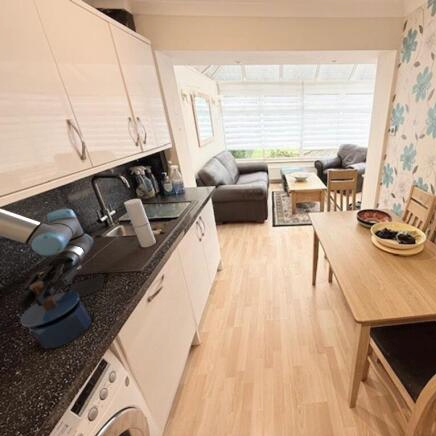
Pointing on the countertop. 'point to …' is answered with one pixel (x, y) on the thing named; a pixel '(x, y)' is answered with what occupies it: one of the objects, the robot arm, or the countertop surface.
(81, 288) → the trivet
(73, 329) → the pot
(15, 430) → the countertop surface
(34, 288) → the lid
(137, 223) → the cylindrical container
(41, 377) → the countertop surface
